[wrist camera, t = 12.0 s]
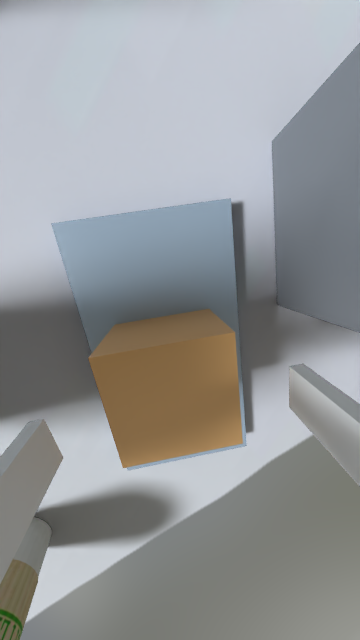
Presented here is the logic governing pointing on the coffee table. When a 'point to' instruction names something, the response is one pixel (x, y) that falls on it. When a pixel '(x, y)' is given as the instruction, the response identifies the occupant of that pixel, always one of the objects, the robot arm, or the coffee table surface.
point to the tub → (321, 202)
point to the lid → (161, 327)
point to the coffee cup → (22, 579)
